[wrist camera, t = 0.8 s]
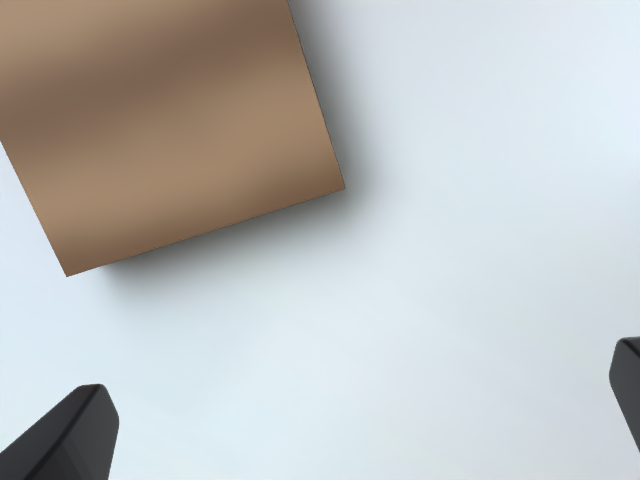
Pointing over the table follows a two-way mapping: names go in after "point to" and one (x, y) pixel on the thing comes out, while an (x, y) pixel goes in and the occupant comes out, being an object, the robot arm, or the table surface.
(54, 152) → the walnut block
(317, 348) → the table surface
